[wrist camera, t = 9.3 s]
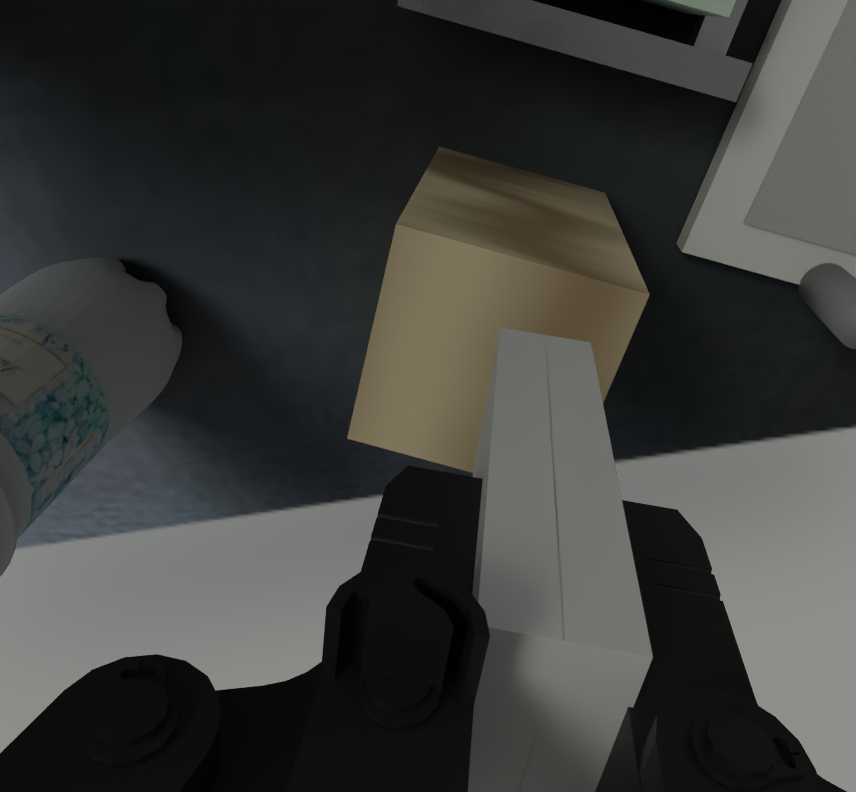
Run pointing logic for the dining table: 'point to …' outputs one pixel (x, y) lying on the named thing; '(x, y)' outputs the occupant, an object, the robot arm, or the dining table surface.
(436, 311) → the block
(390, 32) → the dining table surface
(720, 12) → the cover
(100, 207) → the dining table surface
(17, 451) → the bottle
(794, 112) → the seat plate
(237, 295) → the dining table surface
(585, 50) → the housing frame
